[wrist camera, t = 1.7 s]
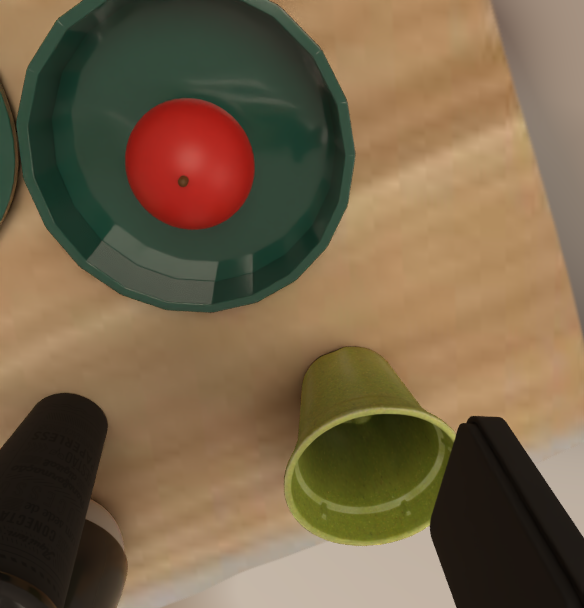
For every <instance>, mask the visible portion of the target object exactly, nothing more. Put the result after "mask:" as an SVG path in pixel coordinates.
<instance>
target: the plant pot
mask: <svg viewBox="0 0 584 608" xmlns="http://www.w3.org/2000/svg"><path fill="white" fill-rule="evenodd" d="M455 437H456V433H455V432H454V431H453V429H452V428H451V427H449V426H448V425H447V424H446V423H445V422H444V421H442V420H441V419H439V418H438V417H436V416H435V415H433V414H431V413H429V412H427V411H426V410H424V409H423V408H422V407H421V406H420V405H419V403H418V402H417V401H416V399H415V398H414V397H413V396H412V394H411V393H410V392H409V390H408V389H407V388H406V386H405V385H404V384H403V382H402V381H401V380H400V378H399V377H398V376H397V374H396V373H395V371H394V370H393V369H392V368H391V366H390V365H389V364H388V362H387V361H386V360H385V359H384V358H383V357H382V356H380V355H379V354H377V353H376V352H374V351H372V350H369V349H366V348H362V347H344V348H341V349H339V350H337V351H335V352H332V353H329V354H327V355H324V356H321V357H319V358H318V359H317V360H316V361H315V362H314V363H313V364H312V365H311V366H310V367H309V369H308V370H307V372H306V374H305V376H304V379H303V383H302V393H301V407H300V421H299V433H298V441H297V444H296V446H295V449H294V451H293V453H292V455H291V457H290V459H289V461H288V464H287V467H286V471H285V476H284V494H285V499H286V502H287V505H288V507H289V510H290V511H291V513H292V515H293V516H294V518H295V519H296V520H297V521H298V522H299V523H300V524H301V525H302V526H303V527H304V528H305V529H307V530H308V531H309V532H311V533H313V534H314V535H316V536H318V537H320V538H323V539H325V540H327V541H331V542H334V543H339V544H345V545H354V546H367V545H381V544H386V543H391V542H395V541H398V540H401V539H404V538H407V537H410V536H412V535H414V534H416V533H418V532H420V531H422V530H424V529H425V528H426V527H428V526H430V519H431V515H432V512H433V509H434V505H435V502H436V499H437V496H438V492H439V489H440V486H441V483H442V479H443V476H444V473H445V469H446V466H447V463H448V460H449V456H450V453H451V450H452V447H453V443H454V440H455Z"/></svg>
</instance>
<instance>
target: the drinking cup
mask: <svg viewBox="0 0 584 608" xmlns="http://www.w3.org/2000/svg"><path fill="white" fill-rule="evenodd" d="M107 428H108V424H107V419H106V417H105V415H104V413H103V411H102V410H101V409H100V408H99V407H98V406H97V405H96V404H95V403H94V402H92V401H91V400H89V399H87V398H85V397H82V396H79V395H75V394H69V393H60V394H54V395H51V396H48V397H46V398H44V399H42V400H41V401H40V402H38V403H37V405H36V406H35V407H34V408H33V409H32V411H31V412H30V413H29V414H28V416H27V417H26V418H25V419H24V421H23V422H22V423H21V424H20V426H19V427H18V428H17V429H16V430H15V432H14V433H13V434H12V435H11V437H10V438H9V439H8V440H7V442H6V443H5V444H4V445H3V447H2V448H1V449H0V608H64V604H65V600H66V596H67V592H68V588H69V584H70V580H71V575H72V571H73V567H74V563H75V559H76V555H77V551H78V547H79V543H80V539H81V535H82V531H83V527H84V523H85V519H86V515H87V511H88V507H89V502H90V498H91V494H92V490H93V486H94V482H95V478H96V474H97V470H98V466H99V462H100V458H101V454H102V450H103V446H104V442H105V438H106V433H107Z"/></svg>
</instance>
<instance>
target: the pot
mask: <svg viewBox="0 0 584 608" xmlns="http://www.w3.org/2000/svg"><path fill="white" fill-rule="evenodd" d="M180 98H195V99H201V100H204V101H208V102H211V103H213V104H215V105H217V106H219V107H221V108H222V109H224V110H225V111H227V112H228V113H229V114H230V115H231V116H233V117H234V119H235V120H236V121H237V122H238V123H239V124H240V126H241V127H242V128H243V130H244V131H245V133H246V135H247V137H248V139H249V142H250V144H251V147H252V151H253V154H254V162H255V172H254V180H253V184H252V187H251V190H250V193H249V195H248V197H247V199H246V200H245V202H244V204H243V205H242V206H241V208H240V209H239V210H238V211H237V212H236V213H235V214H234V215H233V216H231V217H230V218H229V219H227V220H226V221H224V222H222V223H220V224H218V225H216V226H213V227H210V228H206V229H198V230H188V229H181V228H177V227H173V226H170V225H168V224H165V223H163V222H162V221H160V220H158V219H157V218H155V217H154V216H152V215H151V214H150V213H149V212H148V211H147V210H146V209H145V208H144V207H143V206H142V205H141V204H140V203H139V201H138V200H137V198H136V197H135V195H134V193H133V191H132V189H131V187H130V185H129V182H128V179H127V174H126V168H125V153H126V147H127V143H128V139H129V136H130V134H131V132H132V130H133V128H134V127H135V125H136V124H137V122H138V121H139V120H140V119H141V118H142V117H143V115H144V114H146V113H147V112H148V111H149V110H150V109H152V108H153V107H155V106H157V105H158V104H161V103H163V102H166V101H169V100H173V99H180ZM16 123H17V124H16V127H17V135H18V142H19V150H20V158H21V165H22V173H23V178H24V181H25V183H26V186H27V188H28V190H29V192H30V194H31V196H32V199H33V201H34V203H35V205H36V207H37V210H38V212H39V214H40V216H41V218H42V220H43V223H44V225H45V227H46V228H47V230H48V231H49V232H50V233H51V234H52V235H53V237H54V238H55V239H56V240H57V241H58V242H59V244H60V245H61V246H62V247H63V248H64V249H65V250H66V252H67V253H68V254H69V255H70V256H71V257H72V259H73V260H74V261H75V262H76V263H77V264H78V266H80V267H81V268H82V269H84V270H85V271H87V272H88V273H90V274H91V275H92V276H94V277H95V278H97V279H98V280H100V281H101V282H103V283H104V284H106V285H107V286H109V287H110V288H112V289H113V290H115V291H116V292H118V293H119V294H122V295H123V296H126V297H129V298H132V299H135V300H138V301H141V302H144V303H147V304H150V305H153V306H156V307H159V308H162V309H165V310H166V309H167V310H173V311H191V312H209V313H212V312H218V311H222V310H226V309H231V308H235V307H240V306H244V305H249V304H253V303H256V302H258V301H260V300H262V299H264V298H266V297H267V296H269V295H271V294H273V293H274V292H276V291H278V290H280V289H282V288H283V287H285V286H287V285H289V284H290V283H292V282H294V281H295V280H297V279H298V278H299V277H300V275H301V274H302V273H303V272H304V271H305V270H306V269H307V268H308V267H309V266H310V265H311V264H312V263H313V262H314V261H315V260H316V259H317V258H318V257H319V255H320V254H321V253H322V252H323V251H324V250H325V249H326V248H327V246H328V245H329V242H330V240H331V238H332V236H333V234H334V232H335V230H336V228H337V226H338V224H339V222H340V220H341V218H342V216H343V214H344V212H345V210H346V208H347V206H348V205H347V204H348V202H349V195H350V188H351V182H352V175H353V169H354V162H355V147H354V141H353V134H352V128H351V121H350V115H349V108H348V102H347V99H346V97H345V95H344V93H343V91H342V89H341V87H340V85H339V83H338V81H337V79H336V77H335V75H334V73H333V71H332V69H331V67H330V65H329V63H328V61H327V59H326V57H325V55H324V53H323V51H322V50H321V48H320V47H319V46H318V45H317V44H316V43H315V42H314V41H313V40H312V39H311V37H310V36H309V35H308V34H307V33H306V32H305V31H304V30H303V29H302V28H301V27H300V26H299V25H298V24H297V23H296V22H295V21H294V20H293V19H292V18H291V17H290V16H289V15H288V14H287V13H286V12H285V11H284V10H283V9H282V8H281V7H280V6H279V5H278V4H276V3H274V2H272V1H270V0H82V1H81V2H80V3H78V4H77V5H76V6H74V7H73V8H72V9H70V10H69V11H67V12H66V13H65V14H63V15H62V16H61V17H59V18H58V20H56V22H55V23H54V25H53V27H52V28H51V30H50V32H49V33H48V35H47V36H46V38H45V40H44V41H43V43H42V44H41V46H40V48H39V49H38V51H37V53H36V54H35V56H34V57H33V59H32V61H31V62H30V64H29V65H28V68H27V70H26V75H25V80H24V85H23V90H22V95H21V100H20V106H19V111H18V116H17V121H16Z"/></svg>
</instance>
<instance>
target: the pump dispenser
mask: <svg viewBox="0 0 584 608" xmlns="http://www.w3.org/2000/svg"><path fill="white" fill-rule="evenodd" d="M127 571H128V563H127V558H126V555H125V551H124V542H123V538H122V534H121V531H120V529H119V526H118V525H117V523H116V521H115V519H114V518H113V517H112V515H111V514H110V513H109V512H108V511H107V510H106V509H105V508H104V507H103V506H101V505H100V504H98V503H97V502H95V501H93V500H91V499H90V502H89V507H88V511H87V515H86V519H85V523H84V527H83V531H82V535H81V539H80V543H79V547H78V551H77V555H76V559H75V563H74V567H73V571H72V575H71V580H70V584H69V588H68V592H67V596H66V600H65V604H64V608H117V606H118V603H119V601H120V598H121V595H122V592H123V589H124V585H125V581H126V577H127Z"/></svg>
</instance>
